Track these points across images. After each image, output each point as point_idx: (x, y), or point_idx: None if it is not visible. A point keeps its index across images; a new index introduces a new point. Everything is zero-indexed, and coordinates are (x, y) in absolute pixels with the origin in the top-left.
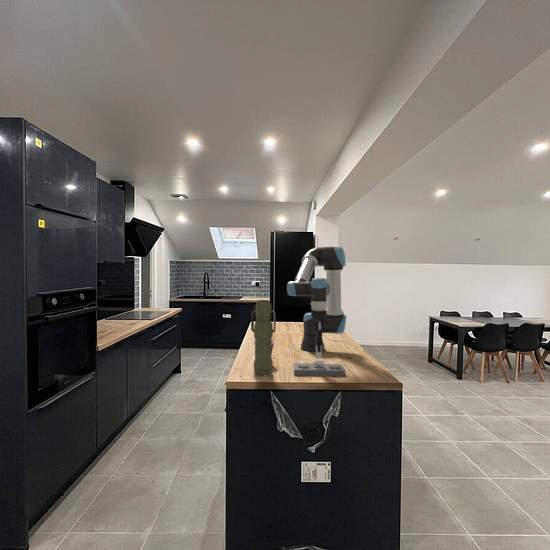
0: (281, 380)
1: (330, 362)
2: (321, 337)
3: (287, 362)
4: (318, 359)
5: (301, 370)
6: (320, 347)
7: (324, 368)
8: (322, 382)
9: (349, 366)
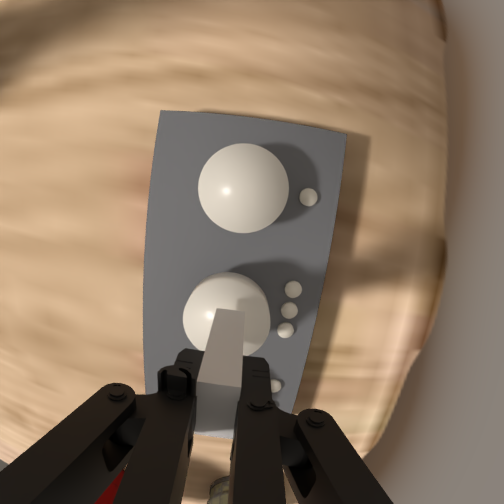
0: None
1: (223, 216)
2: (381, 498)
3: (56, 394)
4: (194, 318)
5: (293, 404)
6: (271, 391)
7: (274, 270)
8: (423, 303)
9: (113, 63)
